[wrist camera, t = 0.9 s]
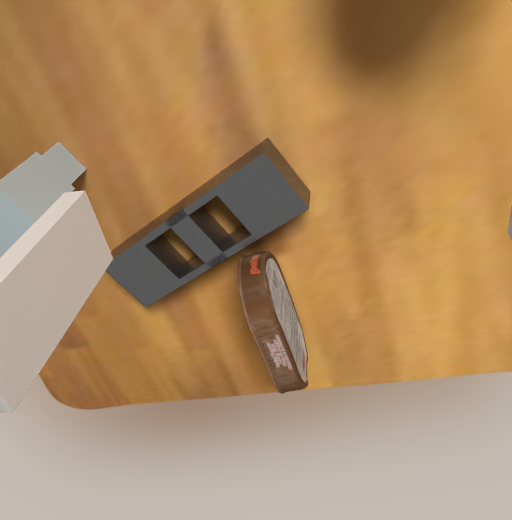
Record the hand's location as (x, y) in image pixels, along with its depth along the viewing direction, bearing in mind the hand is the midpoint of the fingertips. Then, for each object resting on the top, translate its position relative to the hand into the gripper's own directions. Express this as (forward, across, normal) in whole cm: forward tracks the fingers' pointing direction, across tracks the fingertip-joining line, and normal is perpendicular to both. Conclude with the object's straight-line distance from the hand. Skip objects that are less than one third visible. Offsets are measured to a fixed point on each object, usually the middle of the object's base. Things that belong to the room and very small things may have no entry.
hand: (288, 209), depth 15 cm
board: (+24, -12, -14) cm, 31 cm away
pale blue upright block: (+24, -26, -8) cm, 36 cm away
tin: (+25, -6, -23) cm, 35 cm away
